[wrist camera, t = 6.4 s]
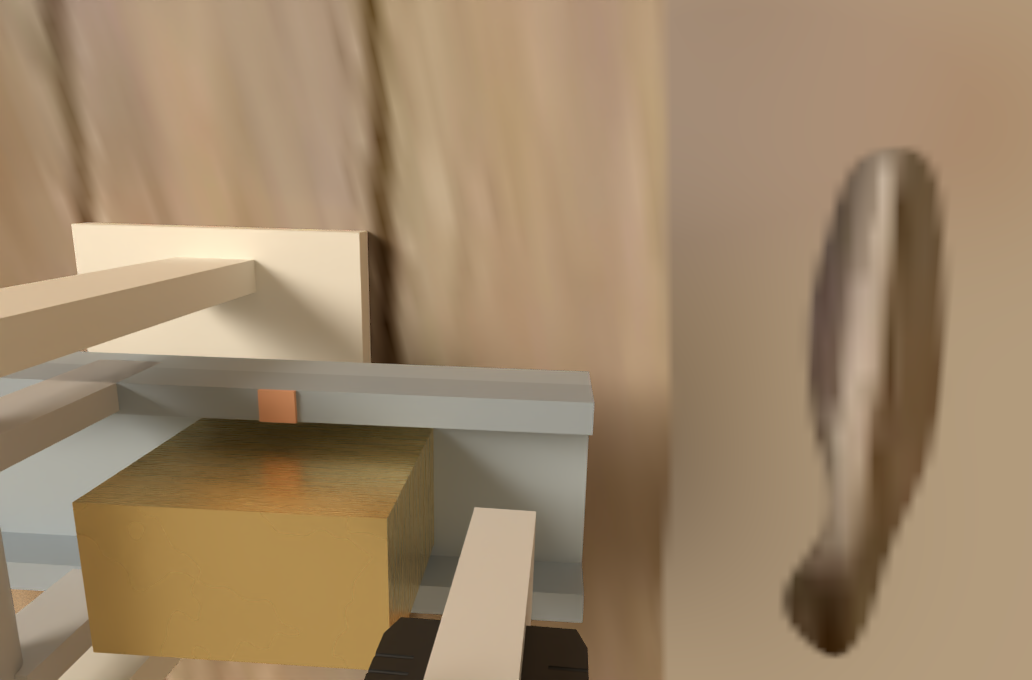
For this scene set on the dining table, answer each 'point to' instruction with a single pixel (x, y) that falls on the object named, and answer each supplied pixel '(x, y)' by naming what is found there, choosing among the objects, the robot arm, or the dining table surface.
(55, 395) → the beam
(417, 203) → the dining table surface
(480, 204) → the dining table surface
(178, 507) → the block
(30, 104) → the dining table surface
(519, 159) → the dining table surface
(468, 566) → the robot arm
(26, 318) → the stand
